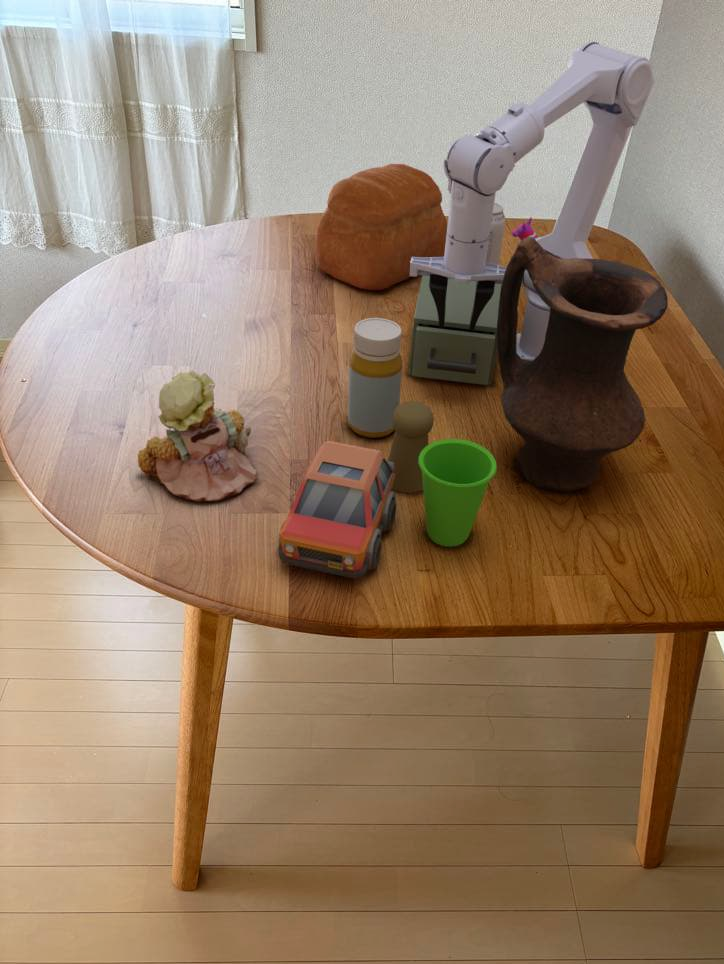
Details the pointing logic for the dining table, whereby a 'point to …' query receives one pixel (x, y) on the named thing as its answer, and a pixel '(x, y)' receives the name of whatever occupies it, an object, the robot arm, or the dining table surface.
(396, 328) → the bottle
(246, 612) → the dining table surface
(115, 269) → the dining table surface
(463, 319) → the cabinet
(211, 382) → the figurine
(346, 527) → the toy car
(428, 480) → the cup
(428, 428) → the pepper shaker
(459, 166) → the robot arm
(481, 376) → the drawer
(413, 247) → the bread
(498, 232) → the energy drink can
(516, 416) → the jug
